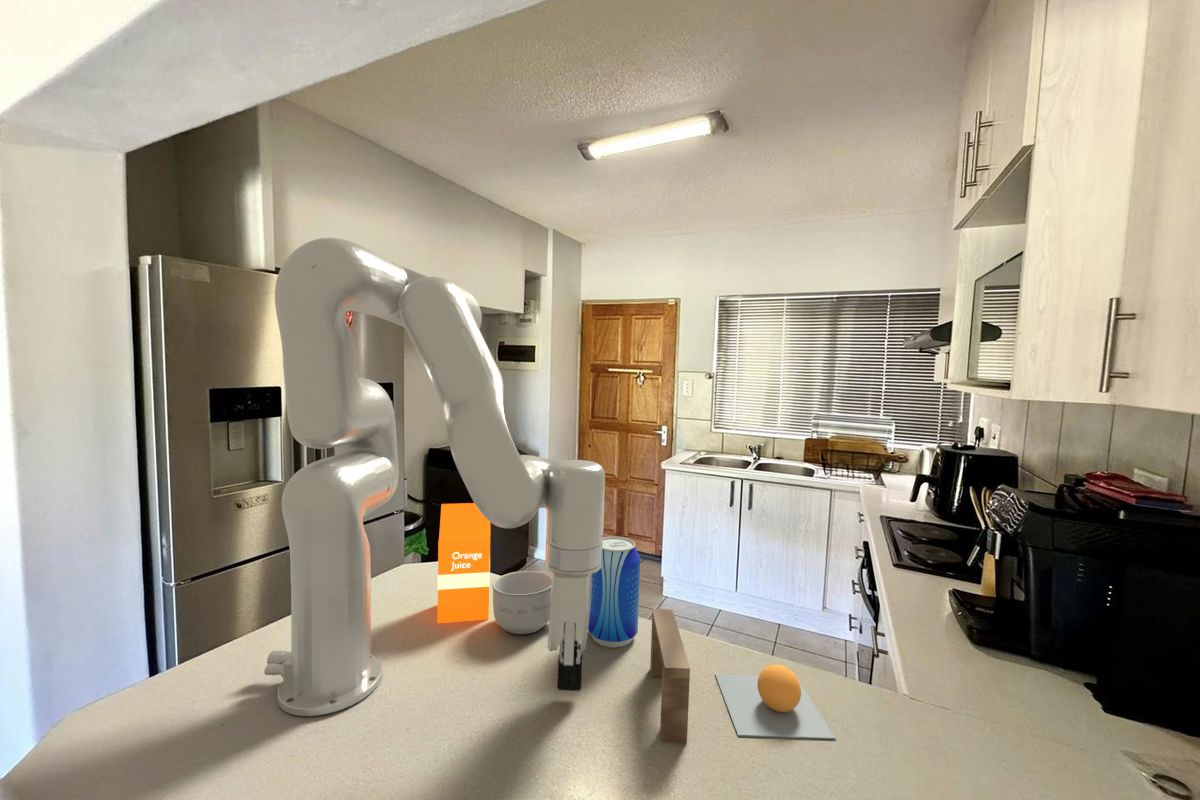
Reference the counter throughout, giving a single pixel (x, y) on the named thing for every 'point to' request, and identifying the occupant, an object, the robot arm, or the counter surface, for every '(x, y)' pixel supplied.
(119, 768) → the counter surface
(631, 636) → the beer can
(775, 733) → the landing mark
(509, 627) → the teacup
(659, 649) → the bridge
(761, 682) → the ball
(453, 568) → the orange juice
